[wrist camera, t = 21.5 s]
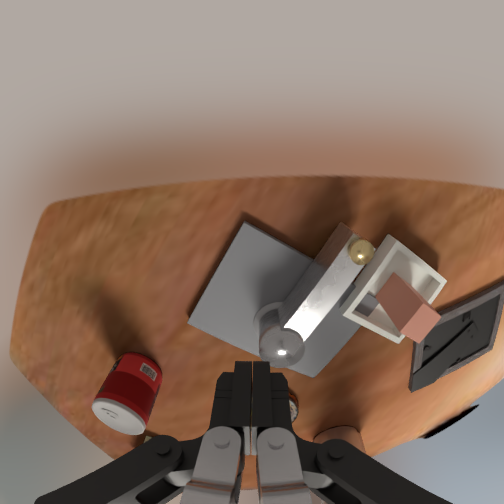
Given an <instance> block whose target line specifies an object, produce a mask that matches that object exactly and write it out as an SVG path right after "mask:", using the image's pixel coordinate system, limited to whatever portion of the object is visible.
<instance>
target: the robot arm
mask: <svg viewBox="0 0 504 504" xmlns="http://www.w3.org/2000/svg"><path fill="white" fill-rule="evenodd" d="M251 410H252V426H251ZM251 429H252V455H257V457H256V474H257V486H258V497H259V504H312V500H311V495H310V491H309V489H310V490H311V491H312V492H313V493H315V494H316V495H317V496H318V497H320V498H321V502H322V504H453V503H450V502H448V501H446V500H444V499H442V498H440V497H438V496H436V495H434V494H432V493H430V492H429V491H427V490H425V489H423V488H421V487H419V486H418V485H416V484H414V483H412V482H410V481H409V480H407V479H405V478H404V477H402V476H400V475H398V474H397V473H395V472H393V471H392V470H390V469H389V468H387V467H385V466H384V465H382V464H380V463H379V462H377V461H376V460H374V459H373V458H371V457H370V456H368V455H367V454H366V451H365V448H364V444H363V441H362V437H361V434H360V433H358V432H357V430H356V429H355V428H353V427H350V426H340V427H335V428H331V429H329V430H326V431H324V432H322V433H320V434H319V435H318V436H316V437H315V439H314V441H313V442H309V441H305V440H303V439H301V438H300V437H298V436H297V435H296V434H295V432H294V431H293V428H292V421H291V411H290V401H289V392H288V382H287V380H286V378H285V377H284V375H283V374H282V373H270V361H253V390H252V361H235V369H234V372H223V373H222V374H221V376H220V377H219V378H218V380H217V384H216V391H215V396H214V402H213V408H212V414H211V420H210V426H209V429H208V430H207V432H206V433H205V434H204V435H202V436H201V437H199V438H196V439H193V440H187V441H180V442H178V441H177V440H176V439H175V438H173V437H171V436H167V435H159V436H155V437H153V438H151V439H149V440H148V441H146V442H145V443H143V444H141V445H140V446H138V447H136V448H135V449H133V450H131V451H130V452H128V453H126V454H125V455H123V456H121V457H119V458H118V459H116V460H114V461H112V462H111V463H109V464H107V465H105V466H104V467H101V468H100V469H98V470H96V471H94V472H92V473H90V474H88V475H86V476H84V477H82V478H80V479H78V480H76V481H74V482H72V483H70V484H68V485H66V486H63V487H61V488H59V489H57V490H55V491H52V492H50V493H48V494H46V495H43V496H40V497H39V498H37V499H36V501H35V503H34V504H166V503H167V502H169V501H170V500H172V499H173V498H174V497H176V496H177V495H179V494H180V493H182V492H183V494H182V497H181V501H180V504H238V502H239V495H240V489H241V482H242V475H243V469H244V465H245V455H250V443H251Z"/></svg>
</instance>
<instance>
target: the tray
mask: <svg viewBox="0 0 504 504" xmlns="http://www.w3.org/2000/svg"><path fill="white" fill-rule="evenodd" d="M393 272H394V273H396V274H397V275H398V276H400V277H401V278H402V279H404V280H405V281H406V282H407V283H409V284H410V285H411V286H412V287H413V288H414V289H415V290H416V291H417V292H418V293H419V294H420V295H421V296H422V297H423V298H424V299H425V300H426V301H427V302H428V303H429V304H431V303H432V302H433V300H434V299H435V298H436V296H437V295H438V293H439V292H440V291H441V289H442V288H443V286H444V285H445V283H446V282H447V281H446V280H445V279H444V278H443V277H442V276H441V275H439V274H438V273H437V272H436V271H435V270H434V269H432V268H431V267H430V266H429V265H428V264H426V263H425V262H424V261H423V260H422V259H420V258H419V257H418V256H417V255H415V254H414V253H413V252H412V251H410V250H409V249H408V248H407V247H405V246H404V245H403V244H402V243H400V242H399V241H398V240H396V239H395V238H394V237H392V236H391V235H389V234H387V236H386V237H385V239H384V240H383V242H382V243H381V245H380V246H379V248H378V249H377V251H376V252H375V254H374V256H373V258H372V260H371V261H370V262H369V263H368V264H367V265H366V267H365V268H364V269H363V271H362V272H361V274H360V275H359V276H358V278H357V279H356V281H355V282H354V284H355V286H356V287H355V289H354V290H353V291H352V293H351V294H350V295H349V297H348V298H347V299H346V301H345V302H344V303H343V305H342V306H341V307H340V308H339V309H340V311H341V313H342V315H343V316H345V317H347V318H348V319H350V320H352V321H354V322H356V323H358V324H360V325H362V326H364V327H366V328H368V329H370V330H372V331H374V332H376V333H378V334H380V335H382V336H384V337H386V338H388V339H390V340H392V341H394V342H396V343H398V344H399V343H400V342H401V340H402V339H403V338H404V337H405V335H404V334H402V333H400V332H399V330H398V329H397V328H396V326H395V325H394V323H393V322H392V320H391V319H390V317H389V316H388V315H387V313H386V312H385V310H384V309H383V307H382V306H381V305H380V303H379V304H378V305H377V307H376V308H375V309H374V310H373V312H372V313H371V314H370V315H369V317H367V316H365V315H363V314H361V313H359V312H357V311H356V310H354V309H355V308H356V306H357V305H358V304H359V303H360V301H361V300H362V299H363V297H364V296H365V295H366V293H369V294H371V295H372V296H374V297H375V296H376V294H377V293H378V292H379V291H380V289H381V288H382V287H383V285H384V284H385V283H386V281H387V280H388V279H389V277H390V276H391V275H392V273H393Z"/></svg>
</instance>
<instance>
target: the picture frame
mask: <svg viewBox="0 0 504 504" xmlns="http://www.w3.org/2000/svg"><path fill="white" fill-rule="evenodd" d="M503 305H504V280H503V281H501V282H499V283H498V284H496V285H494V286H492V287H490V288H488V289H486V290H484V291H482V292H480V293H478V294H476V295H474V296H472V297H470V298H468V299H466V300H464V301H462V302H460V303H458V304H455V305H453V306H451V307H449V308H446V309H444V310H442V311H440V312H437V313H438V314H439V315H440V316H441V318H440V319H439V321H438V322H437V323H436V324H435V326H434V327H433V328H432V329H431V330H430V332H429V333H428V334H427V335H426V336H425V338H424V339H423V340H422V341H421V342H420V343H417V342H415V341H413V353H412V363H411V372H410V380H409V387H408V388H409V390H410V391H411V392H414V391H416V390H419V389H421V388H423V387H425V386H428V385H430V384H432V383H434V382H435V381H436V380H437V379H439V378H441V377H443V376H445V375H447V374H449V373H451V372H453V371H455V370H457V369H459V368H460V367H462V366H464V365H466V364H468V363H470V362H471V361H473V360H475V359H477V358H478V357H480V356H482V355H483V354H485V353H487V352H488V351H490V350H492V348H493V345H494V341H495V338H496V334H497V331H498V327H499V323H500V318H501V314H502V309H503Z"/></svg>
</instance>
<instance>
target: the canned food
mask: <svg viewBox="0 0 504 504" xmlns="http://www.w3.org/2000/svg"><path fill="white" fill-rule="evenodd" d="M161 383H162V373H161V370H160V368H159V367H158V366H157V365H156V363H154V362H153V361H152V360H151V359H149V358H148V357H146V356H144V355H141V354H138V353H132V352H130V353H125V354H123V355H122V356H120V357H119V358H118V359H117V361H116V363H115V364H114V366H113V368H112V369H111V371H110V373H109V374H108V376H107V378H106V380H105V381H104V383H103V385H102V386H101V388H100V390H99V392H98V394H97V395H96V397H95V399H94V401H93V404H92V410H93V412H94V413H95V415H96V416H97V417H98V418H99V419H100V420H101V421H102V422H103V423H105V424H106V425H108V426H109V427H111V428H113V429H115V430H117V431H119V432H122V433H125V434H130V435H139V434H142V433H143V432H144V430H145V428H146V425H147V423H148V420H149V417H150V414H151V411H152V408H153V406H154V403H155V400H156V397H157V394H158V391H159V389H160V386H161Z"/></svg>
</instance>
